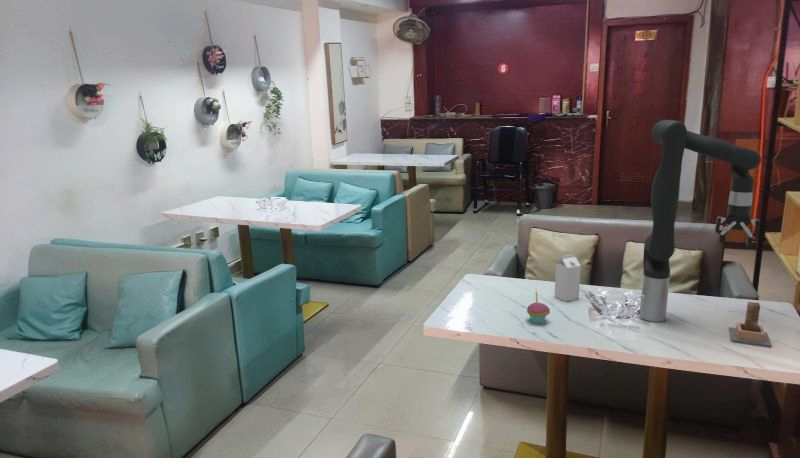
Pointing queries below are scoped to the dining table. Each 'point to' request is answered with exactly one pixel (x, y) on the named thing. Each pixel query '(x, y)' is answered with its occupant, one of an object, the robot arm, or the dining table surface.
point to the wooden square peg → (752, 316)
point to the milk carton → (567, 278)
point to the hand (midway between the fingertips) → (734, 245)
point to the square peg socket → (749, 336)
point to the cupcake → (538, 311)
